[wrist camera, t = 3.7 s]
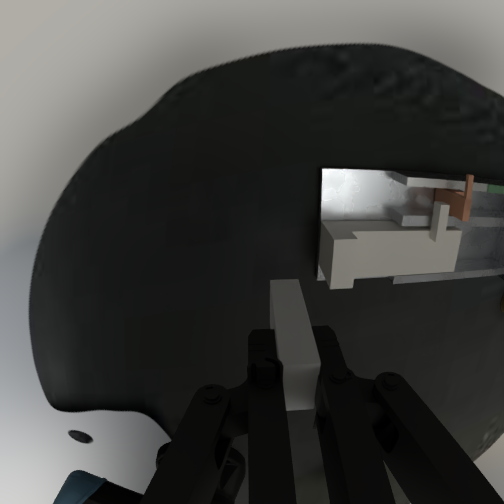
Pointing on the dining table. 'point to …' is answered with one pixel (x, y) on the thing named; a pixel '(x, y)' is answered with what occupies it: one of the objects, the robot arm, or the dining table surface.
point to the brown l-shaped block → (457, 199)
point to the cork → (502, 304)
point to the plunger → (387, 248)
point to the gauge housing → (418, 213)
